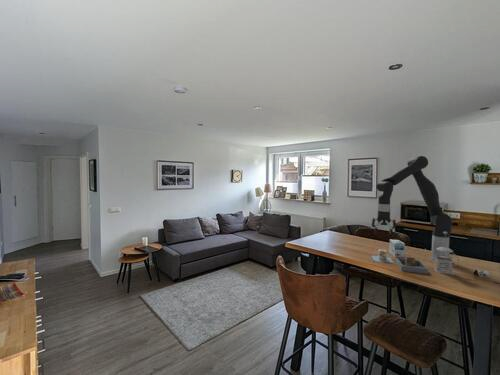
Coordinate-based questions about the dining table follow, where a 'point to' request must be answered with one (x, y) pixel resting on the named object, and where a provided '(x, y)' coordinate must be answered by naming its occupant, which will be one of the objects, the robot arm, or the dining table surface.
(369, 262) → the dining table surface
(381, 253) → the beige box with label
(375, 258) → the placing board
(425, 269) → the parts bin
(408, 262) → the walnut block
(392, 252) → the light bulb box
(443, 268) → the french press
